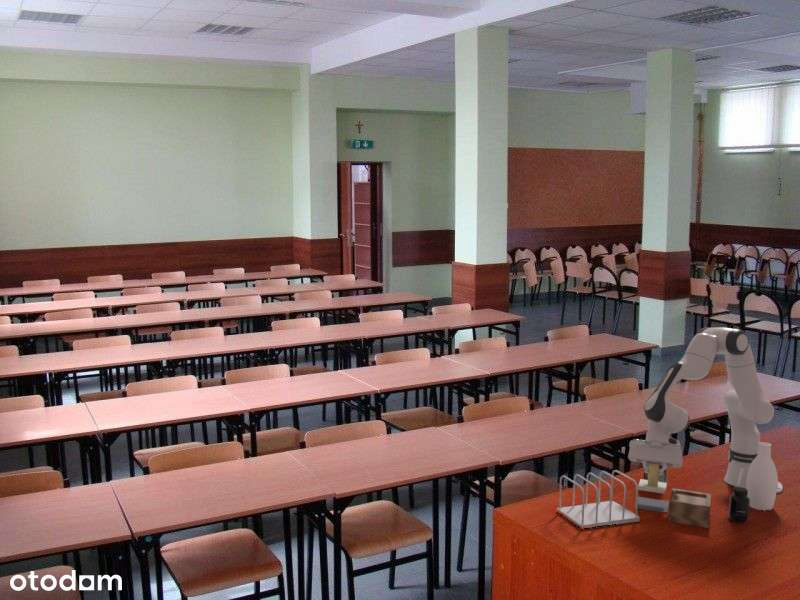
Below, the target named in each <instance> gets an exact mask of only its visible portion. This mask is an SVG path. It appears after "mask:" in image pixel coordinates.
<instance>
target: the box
mask: <svg viewBox="0 0 800 600" xmlns="http://www.w3.org/2000/svg"><path fill="white" fill-rule="evenodd" d="M669 497H670V498H669V506H668V517H667V519H668V520H667V522H670V523H675V524H683V525H688V526H694V527H701V528H707V529H709V528H710V515H711V502H712V501H711V499H712V494H711V493H708V492H707V493H706V492H705V493H704V492H699V491H694V490H693V491H692V490H686V489H680V488H674V487H671V491H670V496H669Z"/></svg>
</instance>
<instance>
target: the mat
mask: <svg viewBox="0 0 800 600" xmlns="http://www.w3.org/2000/svg"><path fill="white" fill-rule="evenodd" d="M669 501H670V500H669ZM669 501H668V500H663V499H655V498H650V497H645V496H644V497H642V496H638V508H637V510H638V509H639V510H644V511H650V512H651V511H652V512H657V513H662V514H668V512H669ZM634 509H636V502H635V504H634Z"/></svg>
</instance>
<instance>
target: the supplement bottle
mask: <svg viewBox="0 0 800 600" xmlns="http://www.w3.org/2000/svg"><path fill="white" fill-rule="evenodd" d="M732 493H733V494H731V495H730V497H729V506H728V516H727V517H728V519H729V520H730V521H732V522H734V523H737V524H746V523H747V522H749V516H750V515H749V514H750V507H749V506H750V499H749V497H747V495H748V490H747V489H745V488H742V487H735V486H734V487H733V492H732Z"/></svg>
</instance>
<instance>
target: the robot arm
mask: <svg viewBox="0 0 800 600" xmlns="http://www.w3.org/2000/svg"><path fill="white" fill-rule="evenodd" d="M716 355H724V359H725V361H724V362H725V366H726V371H727V378H728V382H729V384H730V385H731V387H732V389H730V390H728V391H727V392H726V393H725V394H724V396H723V405H724V407H725V409H726V410H727V411H726V412H727V415H728V418H729V422H730V429H731V436H730V437H731V439H730V448H729V450H728V466H727V470H726V474H725V477H724V479H723V480H724V482H725V483H726V484H728V485H730V486H732V487H734V488H735V487H742V488H745V489H746V482H747V474H748V470H749V467H750V465H751V463H752V461H753V460H754V459H755V458H756V456H757V455H758V448H759V442H761V434H760V431H759V429H758V426H757V424H759V425H765V424H767V423H769V422H771V421H772V420H773V418H774V416H775V408H774V406H773V404H772V403H771V402H770V401H769V399H768V398H767V395H766V393H765V391H764V390H763V387H762V385H761V382H760V380H759V376H758V373H757V368H756V367H757V366H756V363H755V358H754V353H753V350H752V348H751V345H750V340H749V336H748V335H747V333H746V332H745V331H744V330H742V329H739V328H730V327H724V326H722V327H721V326H720V327H718V326H717V327H709V326H707V327H703V328H700V329H699V330H698V331H697V333H696V334H695V335H694V337H693V338H692V339H691V341H690V342H689V344H688V346H687V348H686V350H685V351H684V355H683V356H682V358H681V359H680V360H679V361H675V362H673V363H672V364H671V365H670V366H669V368H668V369H667V370H666V372H665V374H664V376H663V377H662V378H661V380H660V381H659V382H658V385H657V386H656V388H655V389H654V391H653V393H652V394H651V396H649V397H648V399H646V401H645V403H644V405H643V411H644V415H645V418H646V419H648V420H647V428H648V429H647V431H646V434H645V435H646V436H645V439H637V438H634V439H632V440H630V441H629V443H628V444H629V445H628V447H629V451H628V455H627V458H628V460H629V461H631V462H635V463H642V466H643V467H642V468H643V473H644V472H645V473H648V471H649V467H646V464H647V463H648V464H657V465H662V466H663V467H662V469H659V472H658V475H662V474H663V471H664V470H665V469H666V466H668V467H669V468H670V467H671V468H676V469H679V468H682V467H683V450H682V449H681V442H680V440H678V439H676V438H673V437H671V436H670V435H671V434H678V433H682V432H684V431H685V430H687V428H688V427H689V425H690V420H691V419H690V413H689V411H688V410H686V409H684V408H682V407H680V406H679V405H676V404H675V403H673V402H671V401H669V399H668V396H669V395H670V392H672V389H673V388H674V386H675V384H676V383H678V381H679V380H688V381H690V380H691V381H698V380H702V379H704V378H705V377H707V375H708V374H709V372H710V370H711V369H712V365H713V364H714V360H715V357H716ZM644 469H645V470H644ZM783 487H784V486H783V484H782V483H781V482H780V481H778V485H777V492H776V494H780V493H781V492H783Z"/></svg>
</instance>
